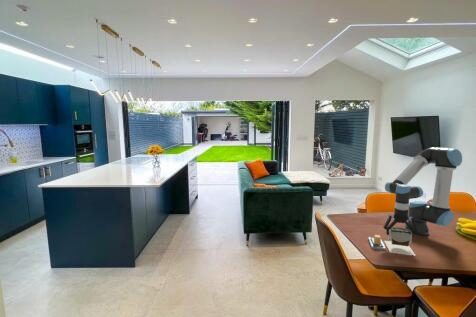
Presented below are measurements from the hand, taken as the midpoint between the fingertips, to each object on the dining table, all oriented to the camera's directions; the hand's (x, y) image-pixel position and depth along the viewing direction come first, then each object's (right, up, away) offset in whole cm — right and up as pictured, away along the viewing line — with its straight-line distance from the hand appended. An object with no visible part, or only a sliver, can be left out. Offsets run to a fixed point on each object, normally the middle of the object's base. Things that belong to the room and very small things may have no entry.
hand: (399, 240), depth 166 cm
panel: (-12, -4, +6) cm, 14 cm away
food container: (0, -2, 0) cm, 2 cm away
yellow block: (-13, -3, +3) cm, 13 cm away
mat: (0, -5, +1) cm, 5 cm away
